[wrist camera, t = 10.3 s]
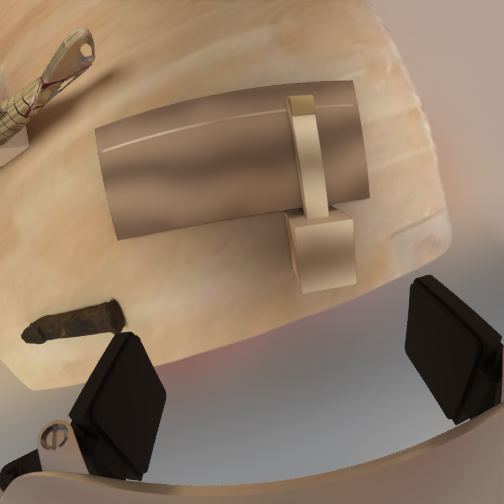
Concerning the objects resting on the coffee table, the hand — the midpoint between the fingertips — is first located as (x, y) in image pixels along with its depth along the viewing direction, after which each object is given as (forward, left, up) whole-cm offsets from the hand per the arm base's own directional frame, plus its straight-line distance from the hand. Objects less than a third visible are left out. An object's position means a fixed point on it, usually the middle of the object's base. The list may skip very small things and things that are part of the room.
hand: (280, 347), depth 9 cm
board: (-6, -2, -22) cm, 23 cm away
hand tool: (+10, -28, -23) cm, 37 cm away
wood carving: (-17, -28, -23) cm, 40 cm away
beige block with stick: (-2, +5, -22) cm, 23 cm away
